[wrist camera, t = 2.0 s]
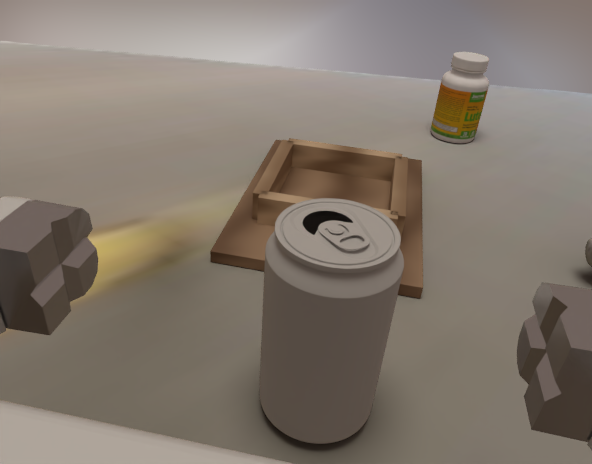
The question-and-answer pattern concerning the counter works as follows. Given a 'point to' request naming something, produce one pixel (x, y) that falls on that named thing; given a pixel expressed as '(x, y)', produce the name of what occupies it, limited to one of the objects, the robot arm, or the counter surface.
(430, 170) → the counter surface
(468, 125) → the supplement bottle
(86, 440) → the robot arm
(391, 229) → the beverage can
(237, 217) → the tray
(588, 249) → the dish
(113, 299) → the counter surface
